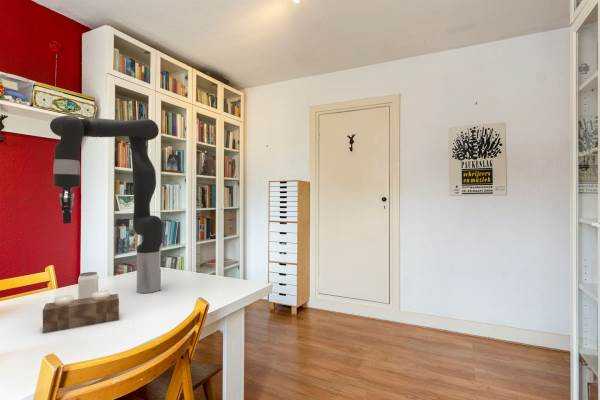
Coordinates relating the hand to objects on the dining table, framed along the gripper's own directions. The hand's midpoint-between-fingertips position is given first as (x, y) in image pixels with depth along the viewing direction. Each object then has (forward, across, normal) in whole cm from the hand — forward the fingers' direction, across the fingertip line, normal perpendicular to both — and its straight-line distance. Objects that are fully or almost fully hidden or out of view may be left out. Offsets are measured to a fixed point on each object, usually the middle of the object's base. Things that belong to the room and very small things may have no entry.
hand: (67, 223), depth 111 cm
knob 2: (+30, -11, -10) cm, 34 cm away
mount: (+32, -11, -5) cm, 34 cm away
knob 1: (+31, -11, 0) cm, 32 cm away
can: (+32, +9, -6) cm, 34 cm away
